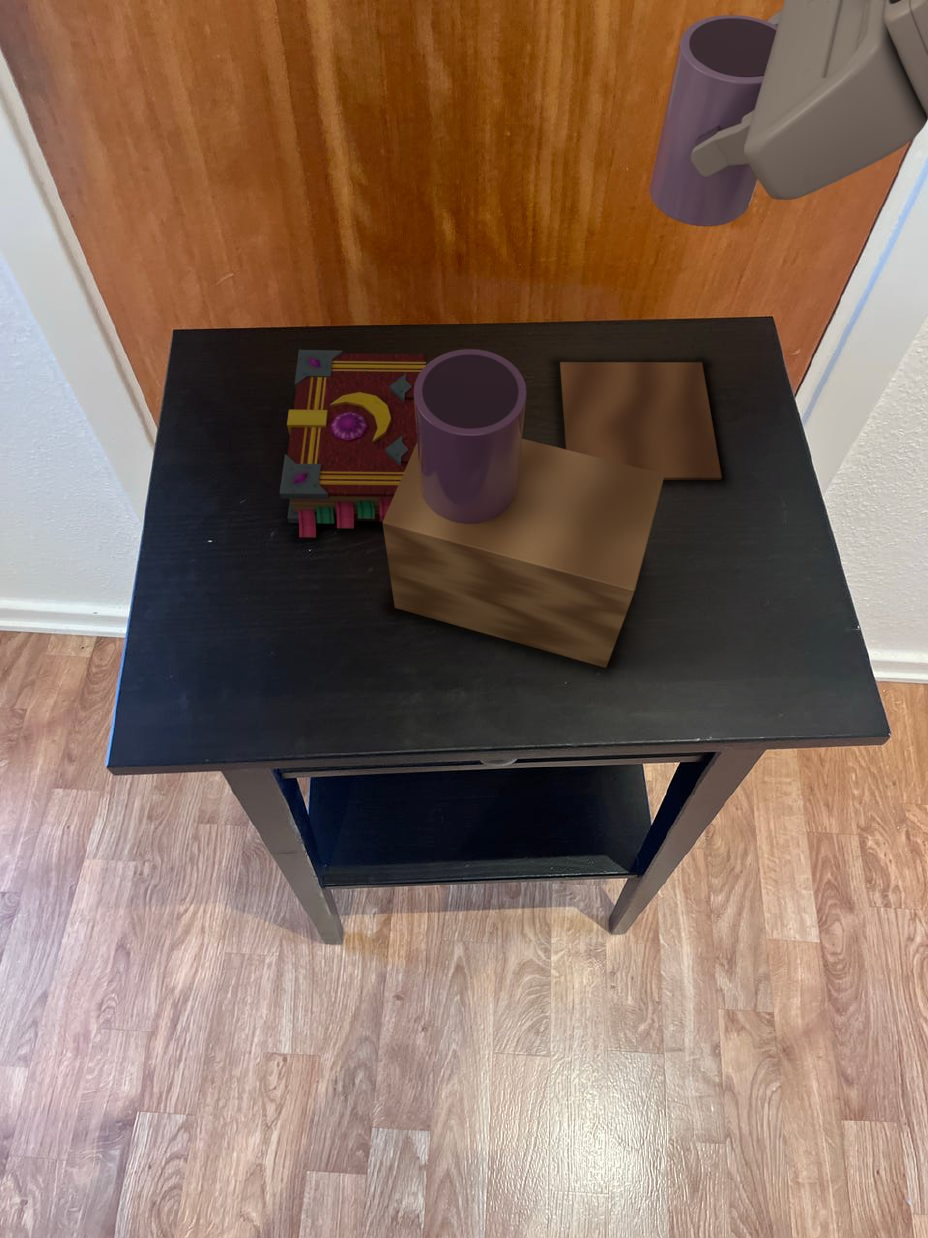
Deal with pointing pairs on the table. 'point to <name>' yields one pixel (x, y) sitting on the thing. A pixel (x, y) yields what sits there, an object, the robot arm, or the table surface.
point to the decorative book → (348, 436)
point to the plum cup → (469, 434)
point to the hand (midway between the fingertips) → (710, 120)
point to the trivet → (641, 416)
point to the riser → (530, 554)
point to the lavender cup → (710, 117)
